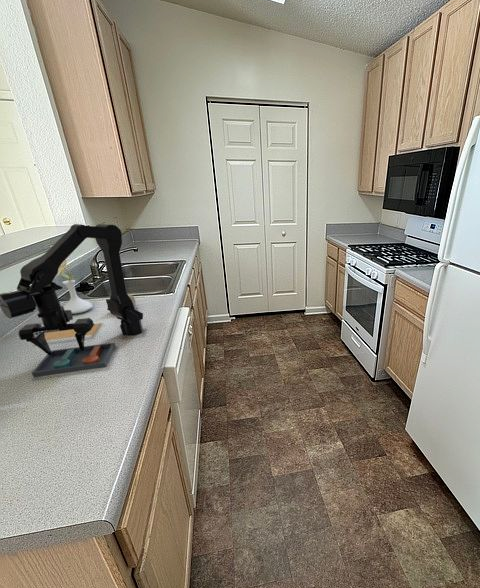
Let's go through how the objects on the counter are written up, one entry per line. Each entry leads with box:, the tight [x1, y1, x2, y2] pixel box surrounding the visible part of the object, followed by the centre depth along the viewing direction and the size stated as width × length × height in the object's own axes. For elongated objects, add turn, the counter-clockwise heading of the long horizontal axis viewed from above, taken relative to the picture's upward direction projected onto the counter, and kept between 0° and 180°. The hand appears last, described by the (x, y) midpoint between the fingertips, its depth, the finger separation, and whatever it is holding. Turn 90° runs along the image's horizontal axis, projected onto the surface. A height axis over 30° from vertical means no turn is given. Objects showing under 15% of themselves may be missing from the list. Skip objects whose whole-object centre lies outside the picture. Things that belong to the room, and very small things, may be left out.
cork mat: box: [44, 323, 102, 341], centre depth 127 cm, size 18×14×1 cm
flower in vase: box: [56, 259, 93, 315], centre depth 143 cm, size 13×11×25 cm
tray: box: [31, 342, 117, 378], centre depth 107 cm, size 20×15×2 cm
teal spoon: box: [53, 349, 75, 368], centre depth 105 cm, size 4×11×2 cm, turn 15°
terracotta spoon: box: [82, 346, 102, 364], centre depth 107 cm, size 4×11×2 cm, turn 16°
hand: (66, 352), depth 106 cm, fingers open, 9 cm apart
